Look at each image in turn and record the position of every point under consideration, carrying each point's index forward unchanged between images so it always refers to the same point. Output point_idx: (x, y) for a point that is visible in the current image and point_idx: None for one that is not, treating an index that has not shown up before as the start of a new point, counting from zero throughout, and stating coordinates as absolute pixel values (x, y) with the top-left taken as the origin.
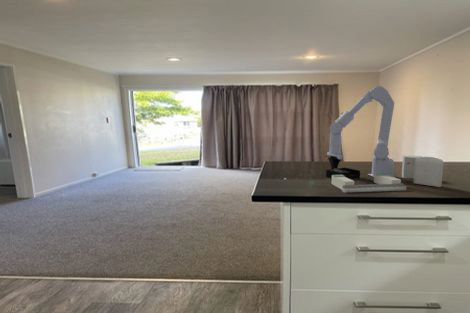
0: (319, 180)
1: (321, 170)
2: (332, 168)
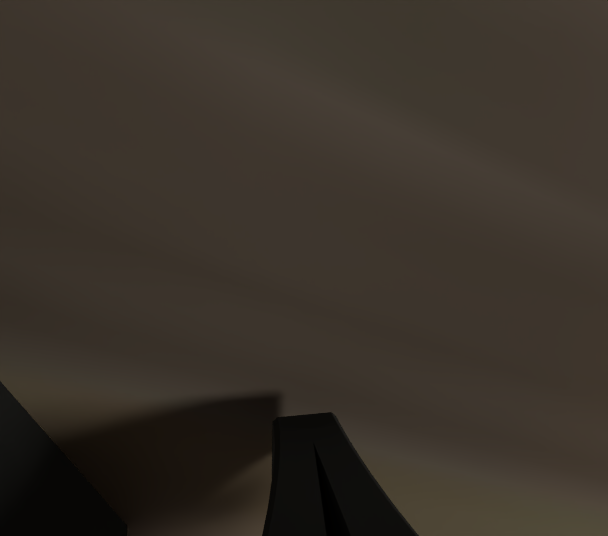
0: None
1: (586, 248)
2: (276, 459)
